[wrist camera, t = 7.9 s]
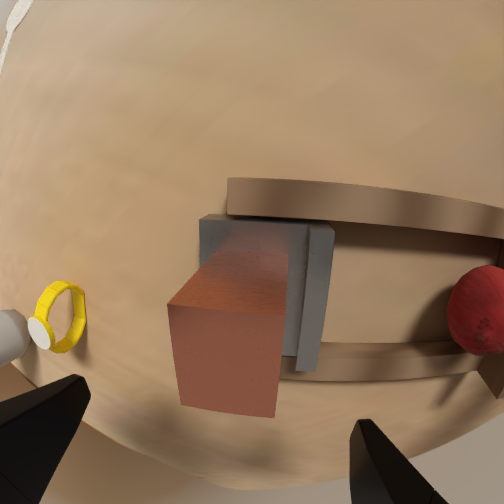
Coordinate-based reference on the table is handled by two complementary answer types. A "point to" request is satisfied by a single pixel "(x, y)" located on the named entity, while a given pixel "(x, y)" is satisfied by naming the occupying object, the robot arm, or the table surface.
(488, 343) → the onion
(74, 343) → the watch
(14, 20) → the spoon
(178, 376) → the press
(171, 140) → the table surface
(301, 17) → the table surface
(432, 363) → the bench
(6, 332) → the salt shaker
